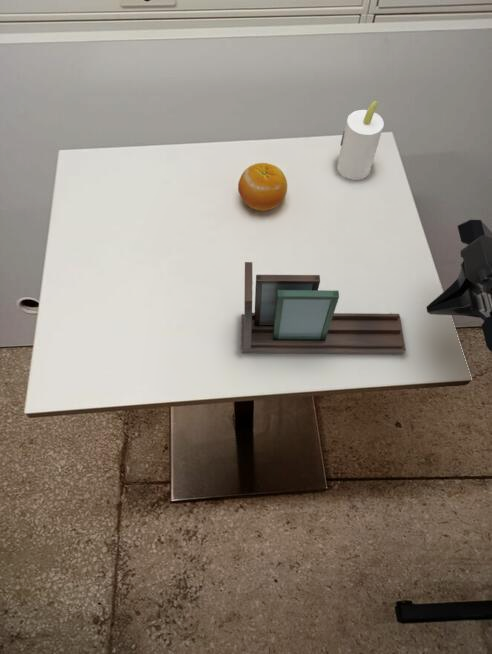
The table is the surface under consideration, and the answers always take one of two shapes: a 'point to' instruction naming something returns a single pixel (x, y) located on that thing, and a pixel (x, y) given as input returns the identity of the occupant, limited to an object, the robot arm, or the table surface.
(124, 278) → the table surface
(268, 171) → the fruit
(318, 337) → the sash
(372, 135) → the candle
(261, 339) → the frame display rack
